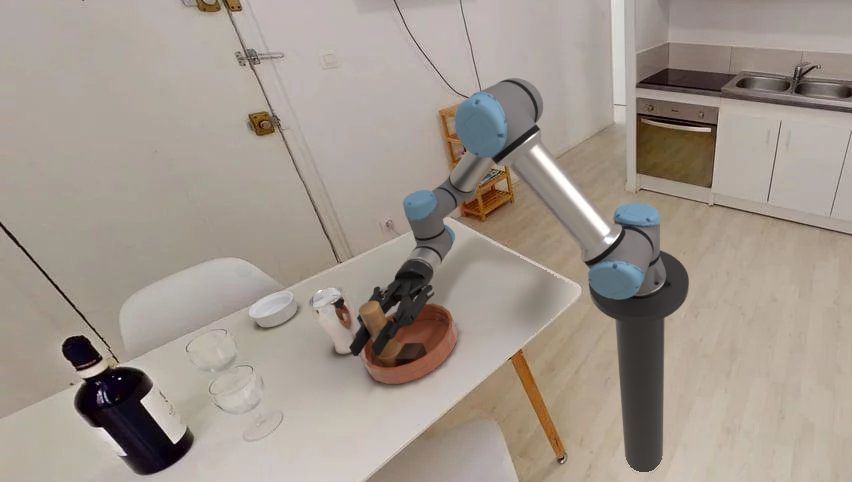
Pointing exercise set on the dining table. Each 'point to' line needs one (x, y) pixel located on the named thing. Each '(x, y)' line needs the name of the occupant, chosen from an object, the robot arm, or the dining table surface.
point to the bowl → (428, 329)
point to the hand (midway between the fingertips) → (364, 351)
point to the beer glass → (335, 316)
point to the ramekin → (274, 309)
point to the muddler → (374, 325)
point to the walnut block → (410, 353)
